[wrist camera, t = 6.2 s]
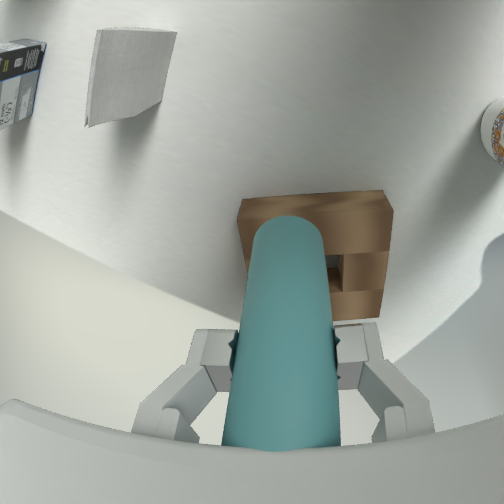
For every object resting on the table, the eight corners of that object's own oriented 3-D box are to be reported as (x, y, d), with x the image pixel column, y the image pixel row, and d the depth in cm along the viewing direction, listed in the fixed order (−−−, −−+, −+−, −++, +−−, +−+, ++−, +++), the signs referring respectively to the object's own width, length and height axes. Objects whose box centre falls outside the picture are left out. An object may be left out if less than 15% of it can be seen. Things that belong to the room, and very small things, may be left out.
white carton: (177, 32, 22) (125, 31, 14) (161, 100, 26) (110, 131, 18) (139, 27, 22) (76, 29, 14) (126, 94, 26) (66, 123, 18)
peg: (321, 213, 14) (348, 507, 5) (323, 270, 16) (335, 519, 7) (248, 218, 15) (194, 502, 5) (258, 273, 17) (226, 517, 7)
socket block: (382, 190, 30) (393, 210, 26) (373, 293, 38) (378, 317, 35) (242, 199, 32) (236, 220, 29) (261, 300, 40) (258, 324, 37)
